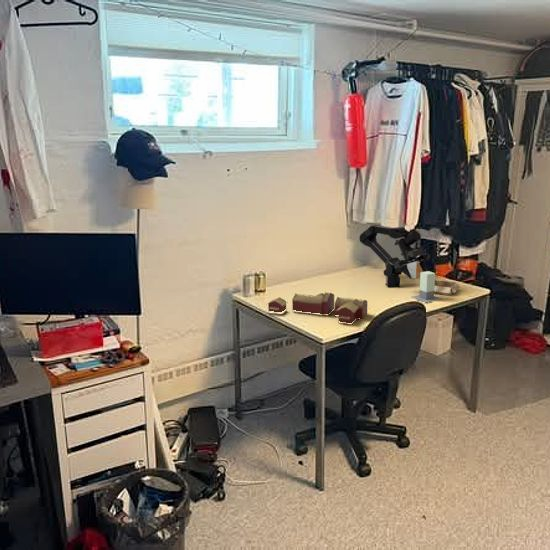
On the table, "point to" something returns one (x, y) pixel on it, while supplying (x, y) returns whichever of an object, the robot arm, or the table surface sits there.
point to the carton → (445, 287)
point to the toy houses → (324, 306)
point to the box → (427, 285)
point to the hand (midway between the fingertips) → (418, 275)
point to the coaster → (426, 300)
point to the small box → (414, 269)
